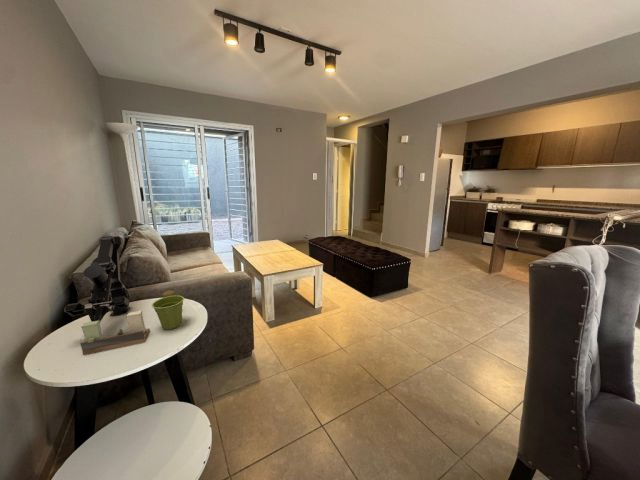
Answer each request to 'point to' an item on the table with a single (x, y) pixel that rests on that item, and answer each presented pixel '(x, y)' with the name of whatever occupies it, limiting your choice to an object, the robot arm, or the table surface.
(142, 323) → the beige rectangular block
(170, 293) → the cork
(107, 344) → the brown wooden rack
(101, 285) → the robot arm
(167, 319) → the plant pot
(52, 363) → the table surface
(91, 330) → the pale green tall block
